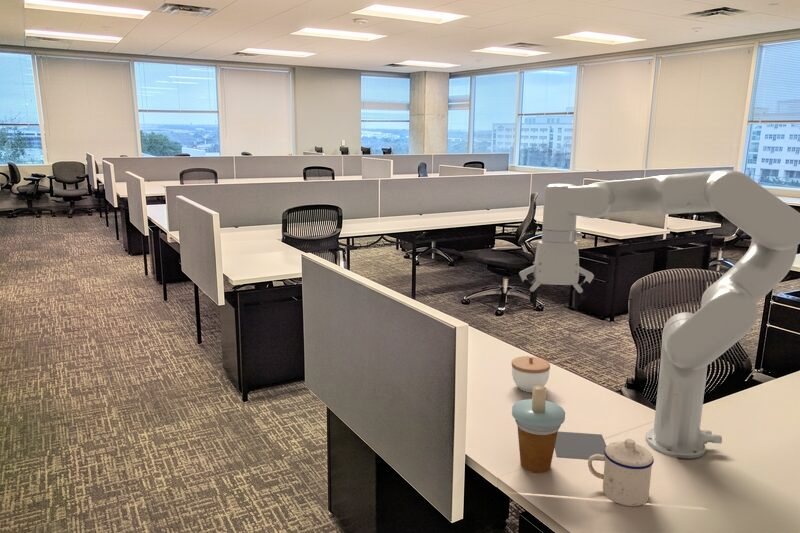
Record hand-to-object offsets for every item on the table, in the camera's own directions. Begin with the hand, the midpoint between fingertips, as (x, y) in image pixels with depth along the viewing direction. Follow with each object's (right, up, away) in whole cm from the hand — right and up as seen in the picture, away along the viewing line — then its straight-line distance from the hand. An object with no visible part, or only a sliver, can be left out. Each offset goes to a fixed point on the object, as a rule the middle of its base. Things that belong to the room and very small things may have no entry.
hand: (554, 306), depth 139 cm
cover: (-8, -22, -16) cm, 28 cm away
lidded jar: (0, -25, +27) cm, 37 cm away
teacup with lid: (+7, -36, -23) cm, 43 cm away
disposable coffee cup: (-8, -34, -14) cm, 37 cm away
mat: (+5, -32, -5) cm, 33 cm away
